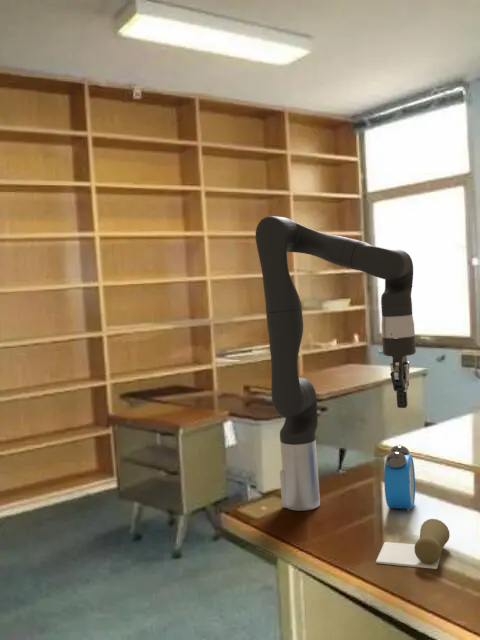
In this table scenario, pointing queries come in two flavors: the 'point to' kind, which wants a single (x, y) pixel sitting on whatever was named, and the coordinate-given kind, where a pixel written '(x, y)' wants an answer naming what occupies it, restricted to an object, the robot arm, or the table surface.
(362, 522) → the table surface
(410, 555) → the mat
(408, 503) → the alarm clock
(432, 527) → the cork
